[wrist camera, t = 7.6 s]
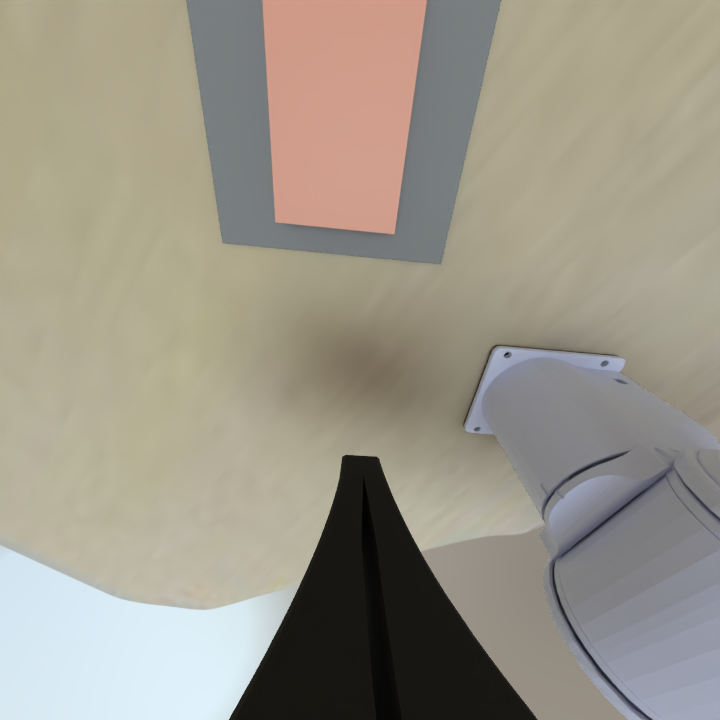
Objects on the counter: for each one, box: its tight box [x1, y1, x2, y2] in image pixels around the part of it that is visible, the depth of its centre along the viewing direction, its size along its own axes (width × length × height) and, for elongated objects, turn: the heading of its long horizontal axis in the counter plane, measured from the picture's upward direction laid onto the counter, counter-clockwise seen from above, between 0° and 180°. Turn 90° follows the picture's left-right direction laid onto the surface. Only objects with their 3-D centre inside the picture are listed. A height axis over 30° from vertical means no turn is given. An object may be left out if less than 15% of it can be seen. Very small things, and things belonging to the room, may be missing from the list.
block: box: [262, 0, 427, 234], centre depth 12 cm, size 2×9×6 cm
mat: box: [186, 0, 501, 264], centre depth 13 cm, size 13×12×1 cm
